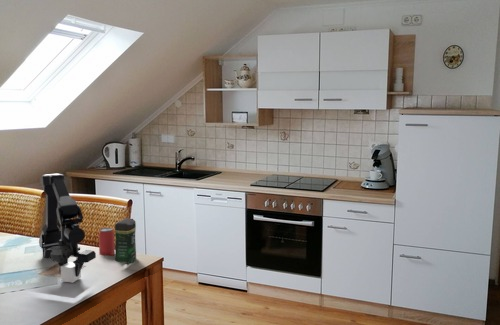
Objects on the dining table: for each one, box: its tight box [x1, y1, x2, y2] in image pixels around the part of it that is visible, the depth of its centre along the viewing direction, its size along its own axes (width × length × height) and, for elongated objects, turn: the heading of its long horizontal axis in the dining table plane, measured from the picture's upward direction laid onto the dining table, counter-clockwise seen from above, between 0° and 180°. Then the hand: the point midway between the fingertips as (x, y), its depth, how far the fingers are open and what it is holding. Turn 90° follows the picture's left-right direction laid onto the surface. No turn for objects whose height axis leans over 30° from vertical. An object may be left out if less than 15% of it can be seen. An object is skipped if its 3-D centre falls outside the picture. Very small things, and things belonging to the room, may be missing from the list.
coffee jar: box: [114, 217, 137, 265], centre depth 196 cm, size 10×8×19 cm
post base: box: [38, 263, 87, 278], centre depth 183 cm, size 13×13×4 cm
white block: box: [60, 261, 82, 283], centre depth 172 cm, size 5×5×6 cm
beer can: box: [98, 227, 116, 257], centre depth 204 cm, size 7×7×12 cm
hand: (71, 275), depth 172 cm, fingers closed on white block, 5 cm apart
